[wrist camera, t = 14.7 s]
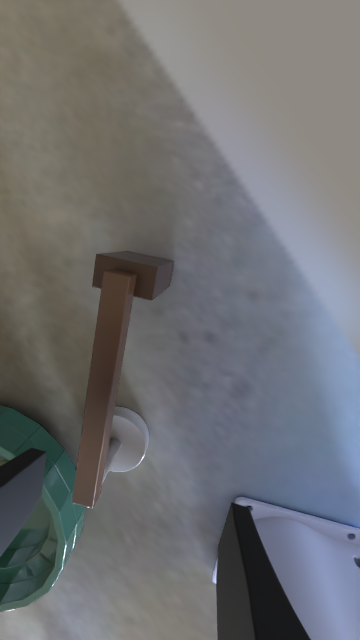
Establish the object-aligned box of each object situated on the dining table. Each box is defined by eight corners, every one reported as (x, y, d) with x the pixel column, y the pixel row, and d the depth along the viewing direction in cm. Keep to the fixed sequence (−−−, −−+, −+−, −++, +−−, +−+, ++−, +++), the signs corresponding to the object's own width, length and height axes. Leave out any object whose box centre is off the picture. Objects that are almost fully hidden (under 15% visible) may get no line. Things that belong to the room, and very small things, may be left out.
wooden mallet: (143, 467, 23) (115, 545, 17) (86, 451, 24) (40, 522, 18) (185, 263, 19) (168, 272, 13) (116, 248, 20) (69, 251, 14)
